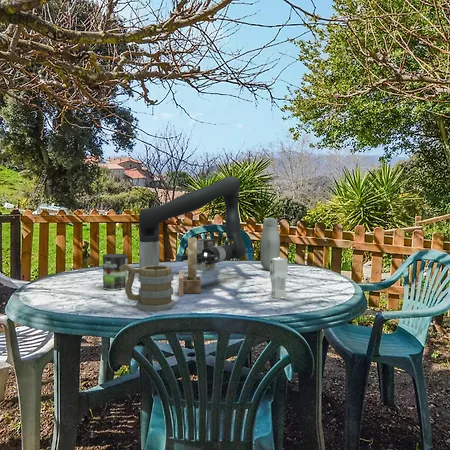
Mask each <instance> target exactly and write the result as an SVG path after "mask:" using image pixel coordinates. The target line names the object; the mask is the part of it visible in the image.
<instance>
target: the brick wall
mask: <svg viewBox="0 0 450 450" xmlns="http://www.w3.org/2000/svg"><path fill="white" fill-rule="evenodd" d="M184 277H185V271H184V270H179V273H178V296H179V297H182V296H184V293H183V279H184Z"/></svg>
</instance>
